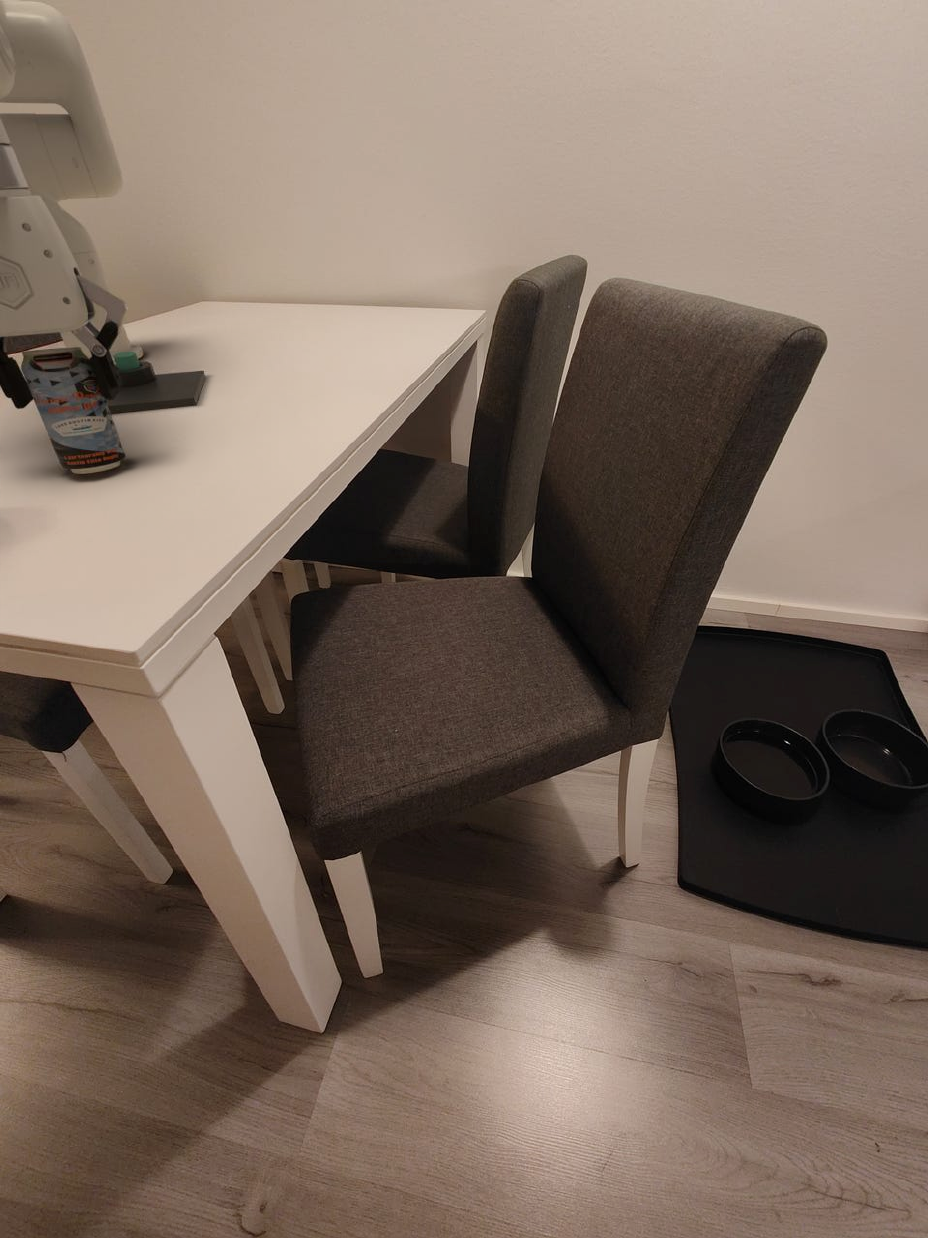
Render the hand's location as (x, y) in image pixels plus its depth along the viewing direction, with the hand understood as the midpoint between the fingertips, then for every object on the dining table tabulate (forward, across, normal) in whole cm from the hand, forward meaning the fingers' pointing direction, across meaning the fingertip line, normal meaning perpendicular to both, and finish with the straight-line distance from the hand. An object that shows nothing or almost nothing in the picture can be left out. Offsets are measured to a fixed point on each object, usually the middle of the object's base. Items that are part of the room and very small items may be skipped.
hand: (69, 398), depth 57 cm
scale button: (+5, -2, +30) cm, 31 cm away
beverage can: (+7, 0, 0) cm, 7 cm away
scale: (+7, +2, +26) cm, 27 cm away
